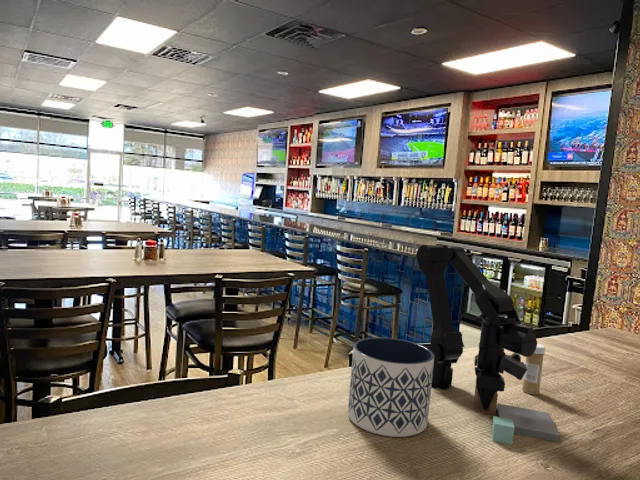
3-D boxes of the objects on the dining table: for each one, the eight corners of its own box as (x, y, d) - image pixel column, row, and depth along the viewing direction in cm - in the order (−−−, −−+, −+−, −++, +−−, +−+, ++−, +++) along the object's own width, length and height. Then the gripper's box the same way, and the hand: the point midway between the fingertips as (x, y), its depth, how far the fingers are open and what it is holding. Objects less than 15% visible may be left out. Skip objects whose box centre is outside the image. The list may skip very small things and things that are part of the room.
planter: (376, 445, 98) (383, 367, 97) (333, 407, 114) (338, 340, 113) (444, 431, 107) (452, 359, 105) (395, 397, 123) (401, 335, 121)
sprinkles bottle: (542, 393, 134) (548, 346, 133) (533, 396, 131) (539, 348, 130) (527, 387, 138) (533, 341, 136) (518, 389, 135) (523, 343, 134)
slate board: (500, 430, 109) (501, 423, 109) (496, 409, 121) (497, 403, 121) (557, 441, 106) (558, 435, 106) (548, 418, 118) (549, 412, 117)
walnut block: (474, 410, 119) (476, 391, 119) (473, 402, 124) (475, 384, 123) (495, 414, 118) (497, 395, 117) (494, 406, 122) (496, 387, 122)
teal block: (492, 441, 104) (494, 423, 104) (491, 432, 108) (493, 415, 108) (512, 445, 103) (514, 427, 103) (510, 436, 107) (512, 419, 107)
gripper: (532, 360, 108) (523, 427, 110) (522, 338, 126) (515, 396, 127) (480, 352, 111) (472, 417, 113) (477, 332, 129) (471, 388, 130)
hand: (484, 404), depth 121 cm, fingers open, 6 cm apart
